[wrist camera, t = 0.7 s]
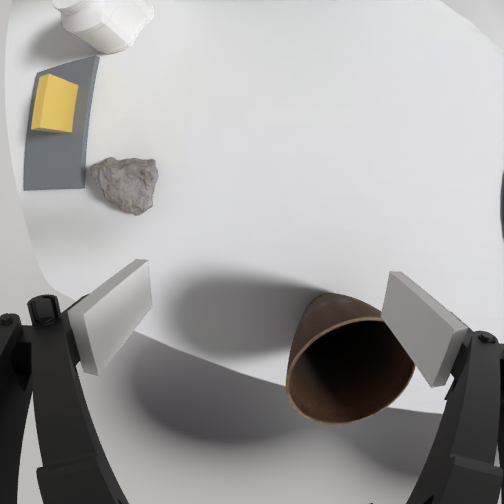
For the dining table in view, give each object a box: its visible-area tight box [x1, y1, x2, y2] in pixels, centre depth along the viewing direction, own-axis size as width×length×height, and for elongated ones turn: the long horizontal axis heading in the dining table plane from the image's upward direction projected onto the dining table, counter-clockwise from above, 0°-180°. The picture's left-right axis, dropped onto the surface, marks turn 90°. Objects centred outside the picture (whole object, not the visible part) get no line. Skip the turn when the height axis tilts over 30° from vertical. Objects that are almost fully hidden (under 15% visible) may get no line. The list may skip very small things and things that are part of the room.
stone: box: [91, 157, 158, 216], centre depth 36 cm, size 10×8×6 cm
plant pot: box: [286, 294, 416, 425], centre depth 35 cm, size 15×15×16 cm
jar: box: [52, 0, 154, 54], centre depth 25 cm, size 12×10×15 cm
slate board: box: [24, 56, 99, 191], centre depth 36 cm, size 22×14×1 cm, turn 176°
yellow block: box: [31, 74, 78, 134], centre depth 31 cm, size 8×2×8 cm, turn 176°
